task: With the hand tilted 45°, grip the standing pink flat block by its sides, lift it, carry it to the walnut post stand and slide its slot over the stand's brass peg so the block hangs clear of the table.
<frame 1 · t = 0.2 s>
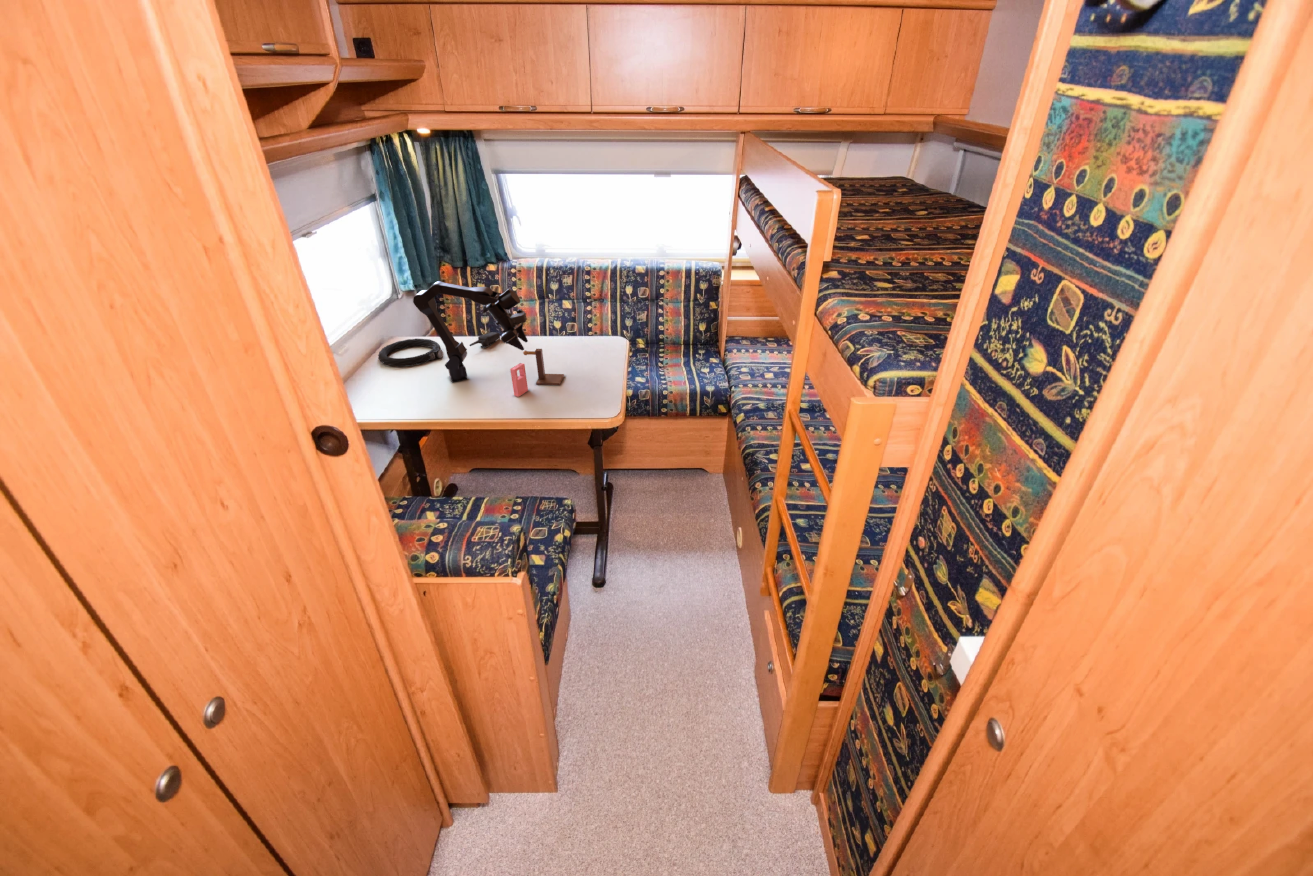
hand: (525, 345, 244), 15 cm above the table, tool tilted 30°, fingers open, 9 cm apart
pink flat block: (521, 393, 239), on the table
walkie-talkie: (486, 346, 283), on the table
ring: (413, 356, 274), on the table
stand: (542, 380, 250), on the table
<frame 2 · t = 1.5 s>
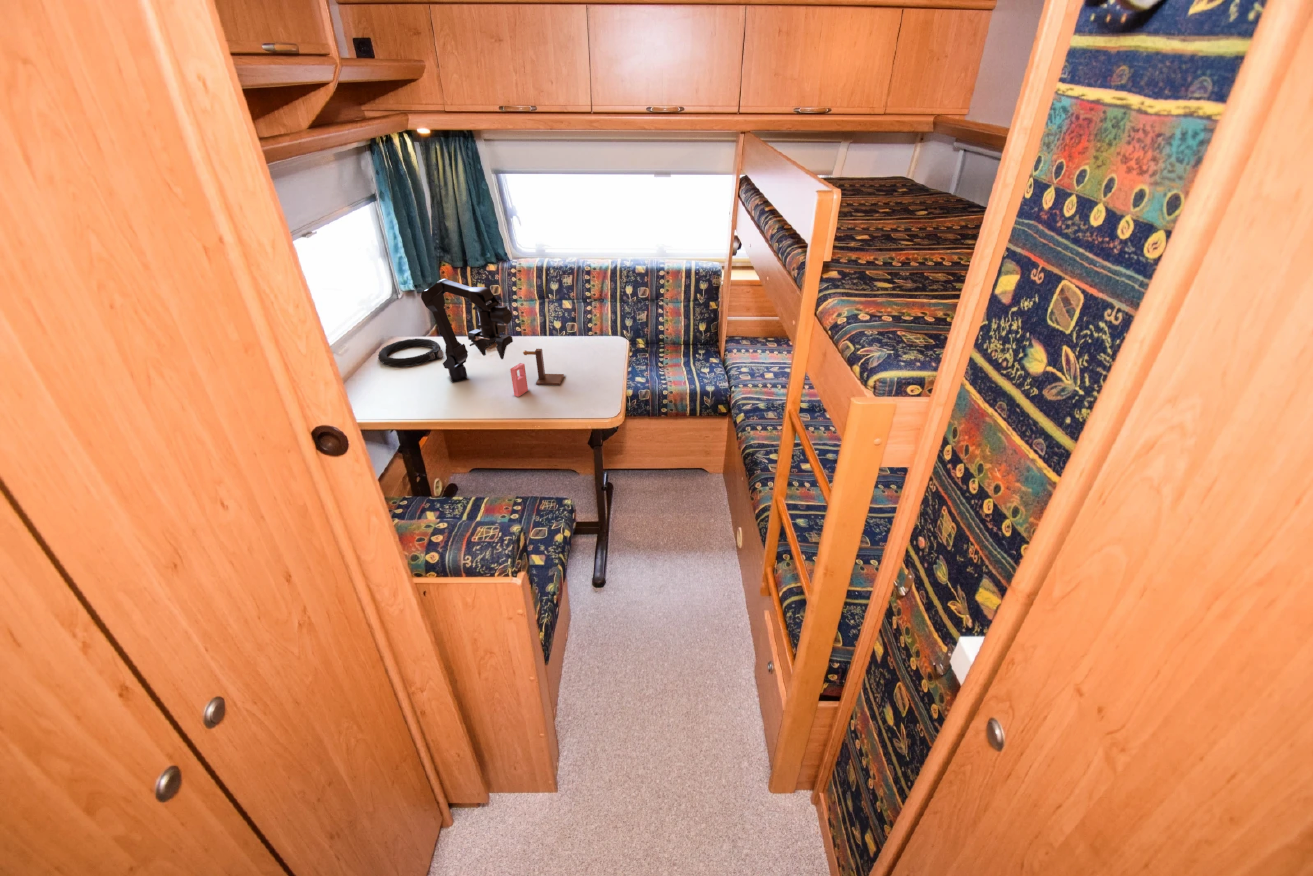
hand: (493, 357, 239), 13 cm above the table, tool pointing down, fingers open, 9 cm apart
nothing on the table moved.
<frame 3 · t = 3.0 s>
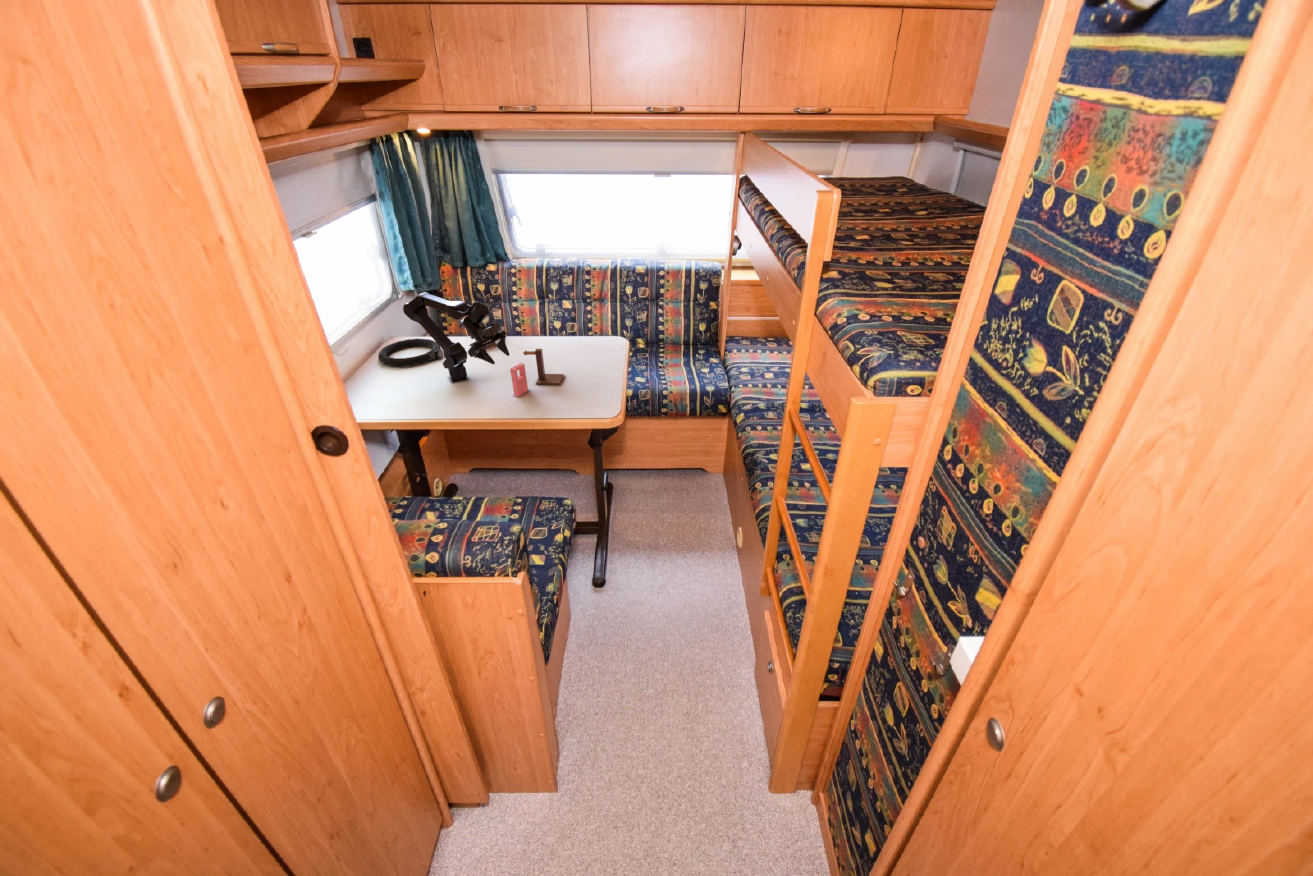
hand: (501, 359, 235), 14 cm above the table, tool tilted 45°, fingers open, 9 cm apart
nothing on the table moved.
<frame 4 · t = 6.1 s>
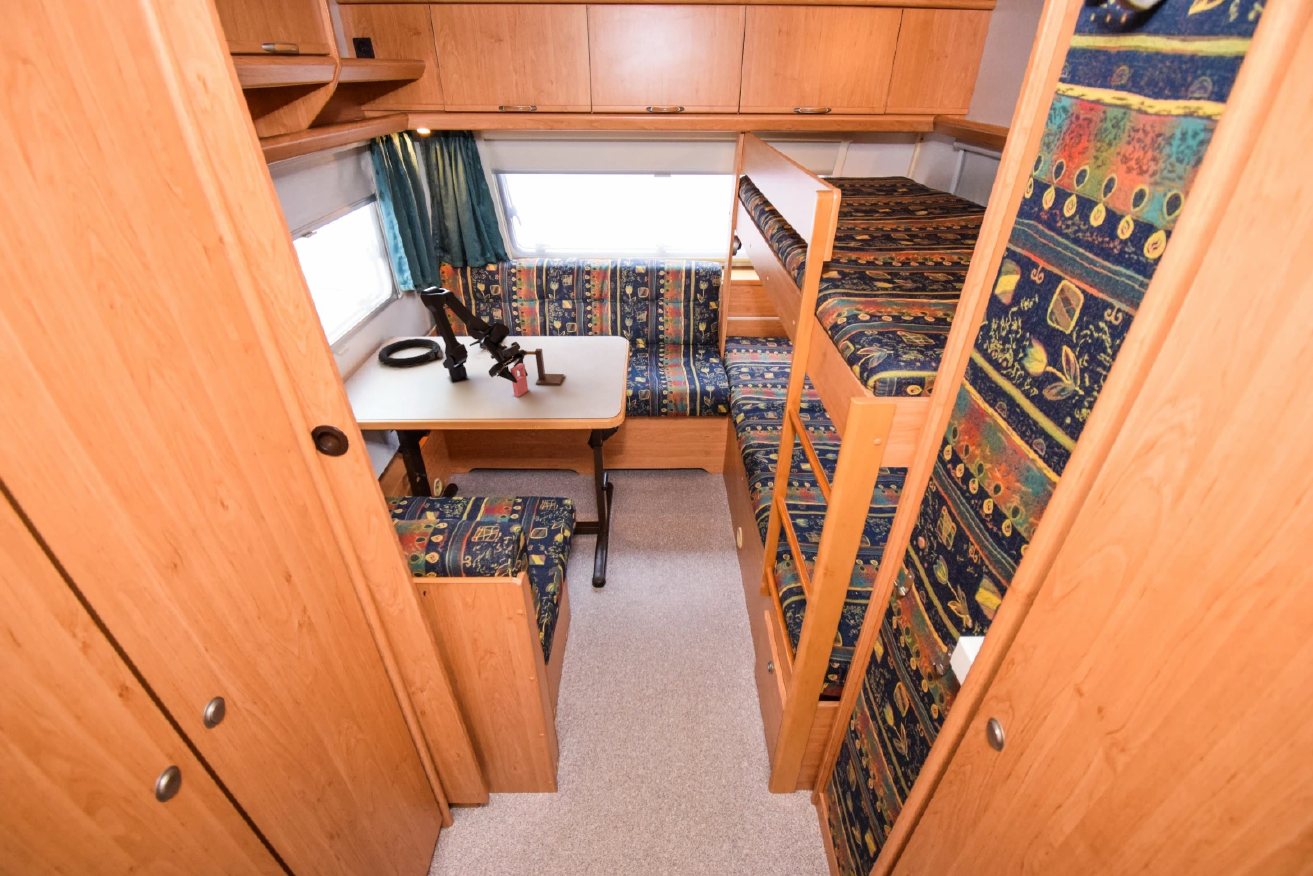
hand: (521, 379, 235), 7 cm above the table, tool tilted 45°, fingers closed on pink flat block, 6 cm apart
pink flat block: (521, 393, 239), on the table, touching gripper
everything else where it was.
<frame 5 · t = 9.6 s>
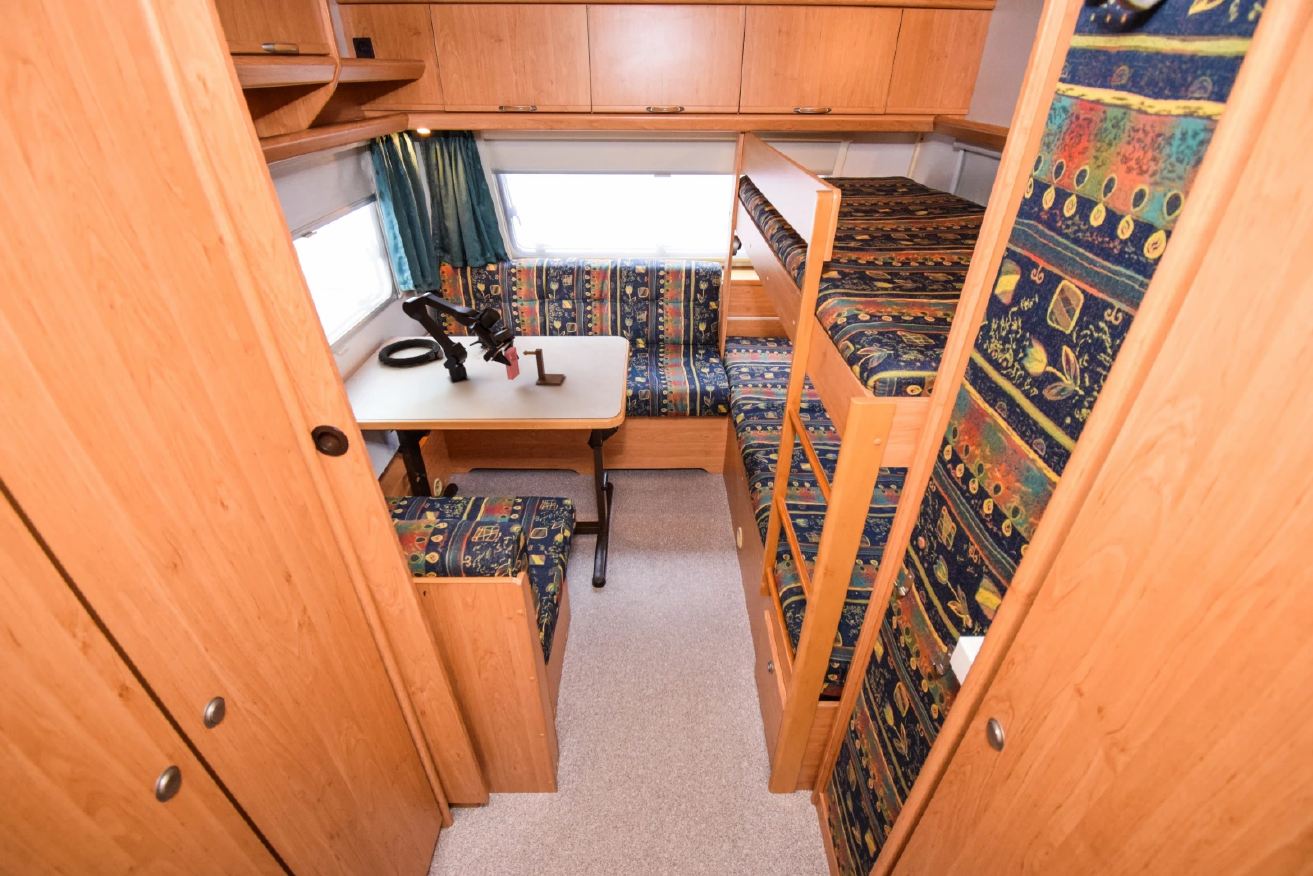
hand: (514, 362, 240), 10 cm above the table, tool tilted 45°, fingers closed on pink flat block, 6 cm apart
pink flat block: (513, 376, 244), point 4 cm above the table, touching gripper
everything else where it was.
when the fingers open (9 cm above the table, at t = 13.2 s): pink flat block stays where it is, resting on stand.
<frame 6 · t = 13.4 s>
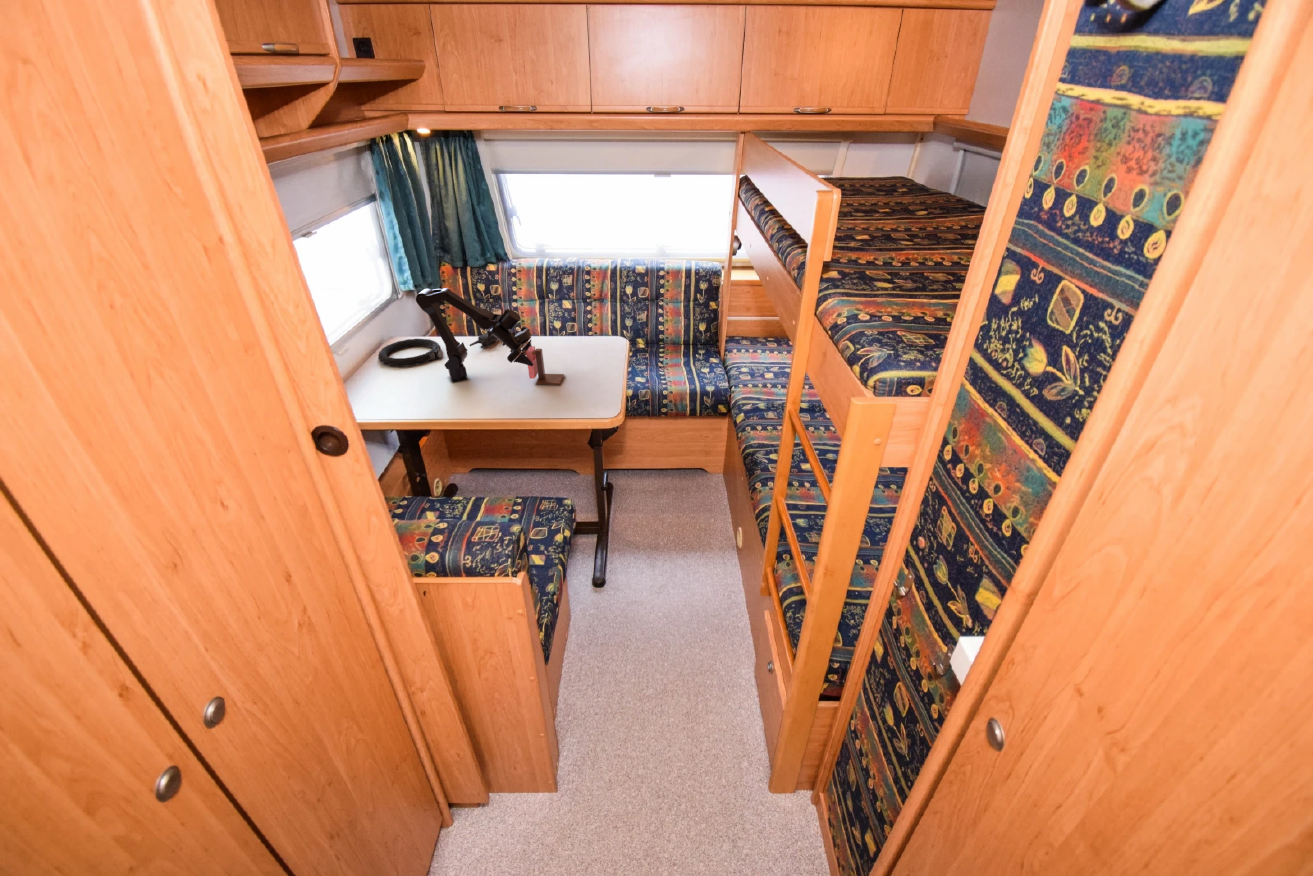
hand: (535, 361, 245), 9 cm above the table, tool tilted 45°, fingers open, 8 cm apart
pink flat block: (533, 375, 249), point 2 cm above the table, touching stand
everything else where it was.
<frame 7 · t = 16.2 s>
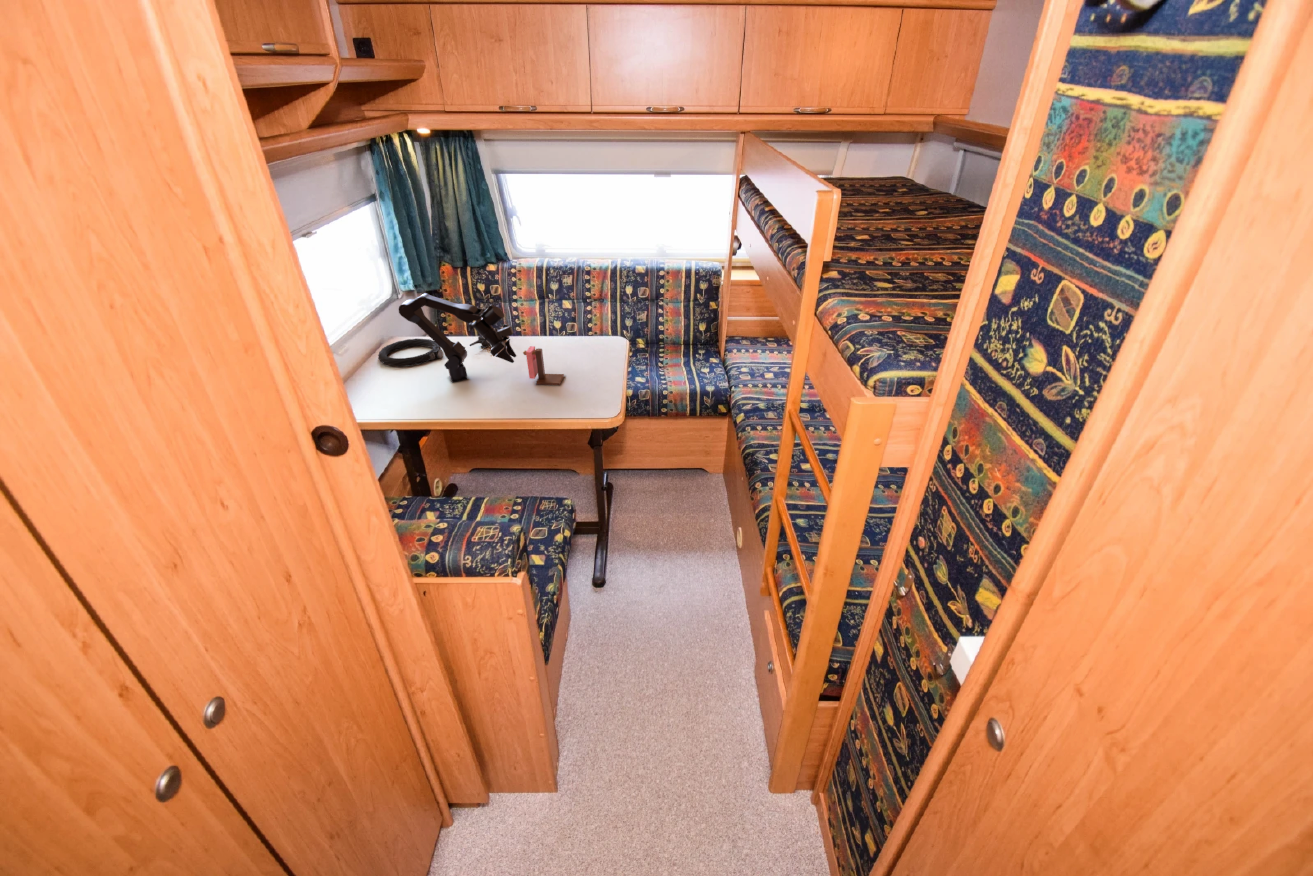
hand: (514, 359, 246), 9 cm above the table, tool tilted 40°, fingers open, 9 cm apart
nothing on the table moved.
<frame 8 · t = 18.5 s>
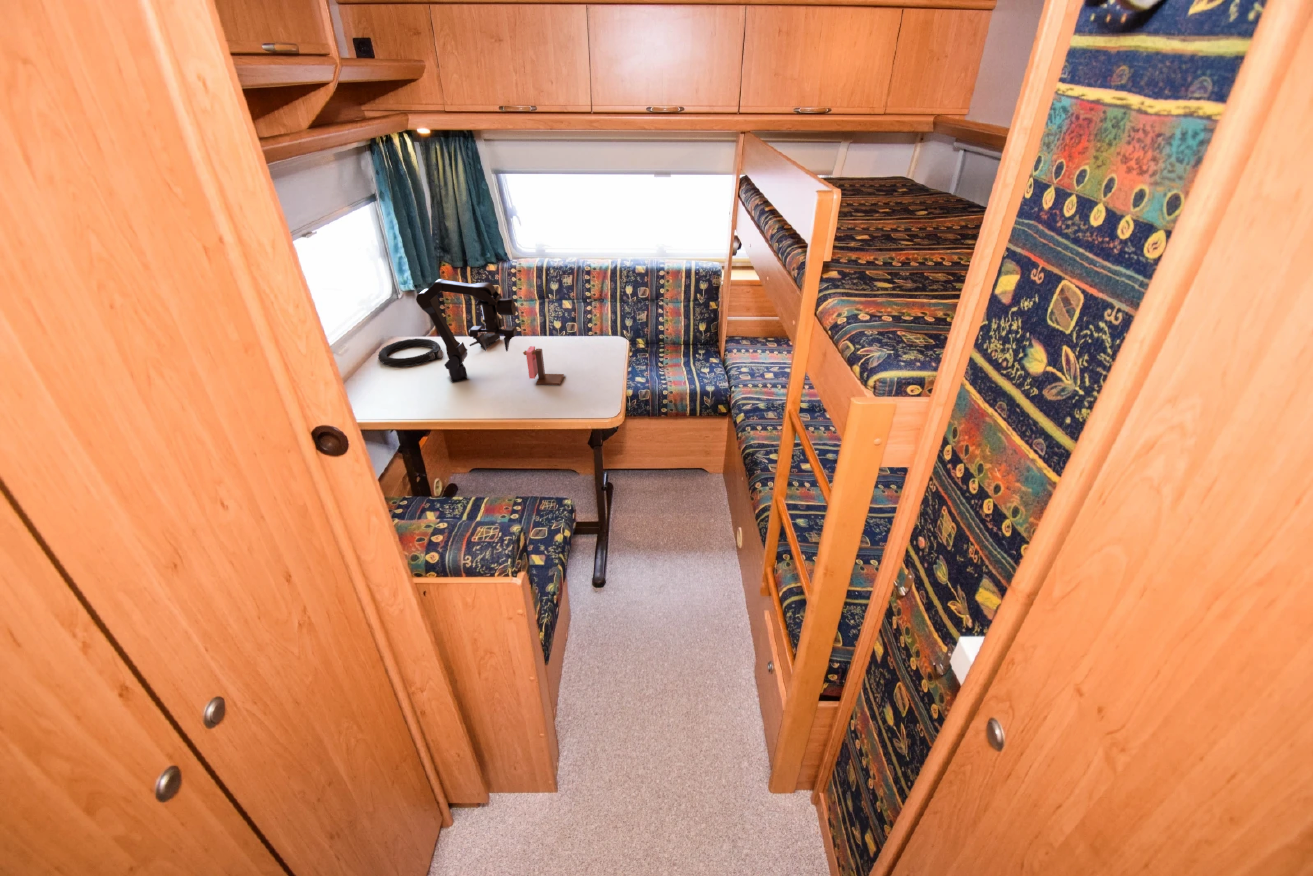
hand: (496, 350, 244), 13 cm above the table, tool pointing down, fingers open, 9 cm apart
nothing on the table moved.
at the end: pink flat block 0.1 cm from the target spot on the stand, point 2.2 cm above the stand's base; pink flat block touching stand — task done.
